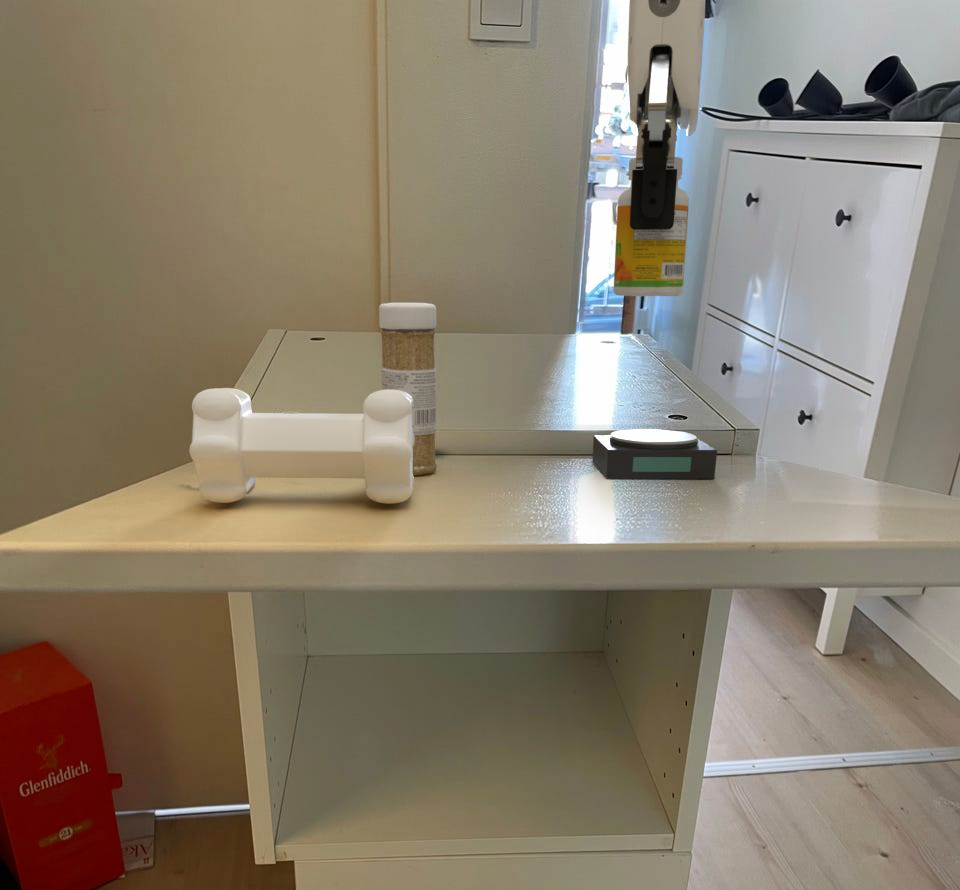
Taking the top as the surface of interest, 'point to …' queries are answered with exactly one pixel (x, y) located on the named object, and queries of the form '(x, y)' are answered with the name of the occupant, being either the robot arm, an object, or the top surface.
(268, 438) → the white bone
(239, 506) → the top surface
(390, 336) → the sprinkles bottle
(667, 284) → the supplement bottle
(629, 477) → the scale
